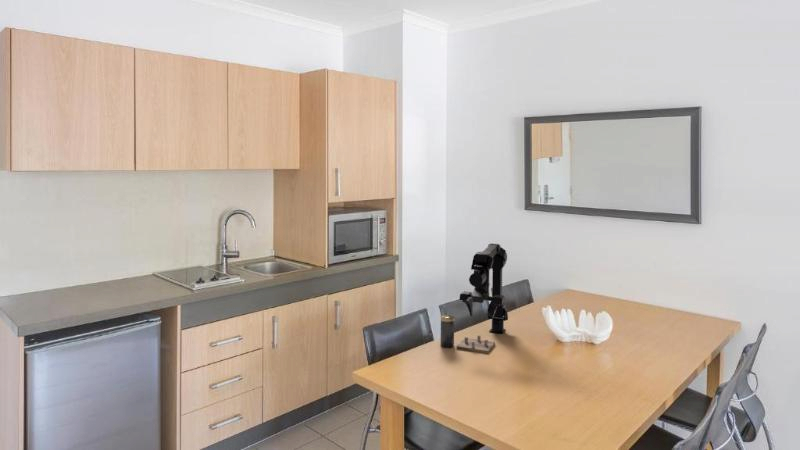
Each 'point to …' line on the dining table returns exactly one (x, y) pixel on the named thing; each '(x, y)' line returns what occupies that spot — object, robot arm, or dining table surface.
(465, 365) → the dining table surface
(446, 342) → the tea tin
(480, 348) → the peg board
